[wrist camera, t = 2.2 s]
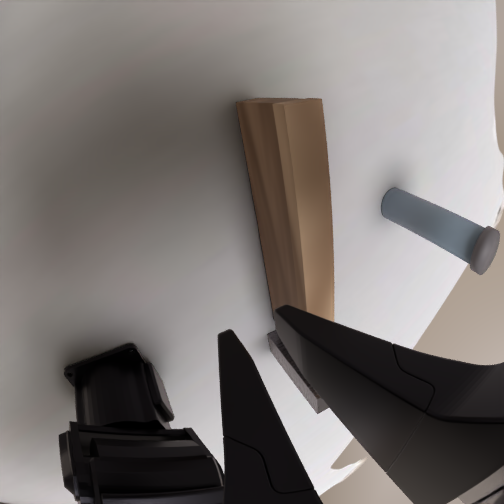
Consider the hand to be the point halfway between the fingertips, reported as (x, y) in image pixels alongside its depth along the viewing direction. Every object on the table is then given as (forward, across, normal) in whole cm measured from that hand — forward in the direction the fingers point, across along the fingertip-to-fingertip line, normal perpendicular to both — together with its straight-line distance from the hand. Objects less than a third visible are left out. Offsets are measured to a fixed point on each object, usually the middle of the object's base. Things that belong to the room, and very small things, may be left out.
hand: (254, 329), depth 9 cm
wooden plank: (+12, -6, +4) cm, 14 cm away
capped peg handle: (+12, -19, +6) cm, 23 cm away
